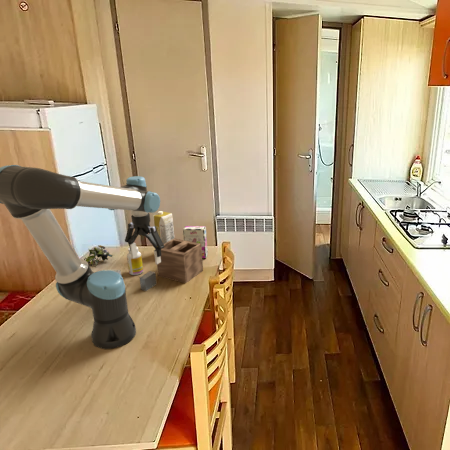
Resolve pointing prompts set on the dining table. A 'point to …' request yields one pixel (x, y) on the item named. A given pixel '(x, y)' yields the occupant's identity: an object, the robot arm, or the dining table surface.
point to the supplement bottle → (135, 263)
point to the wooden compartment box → (180, 260)
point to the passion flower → (97, 254)
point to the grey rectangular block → (148, 280)
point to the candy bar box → (197, 237)
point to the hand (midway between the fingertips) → (146, 260)
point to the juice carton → (164, 226)
